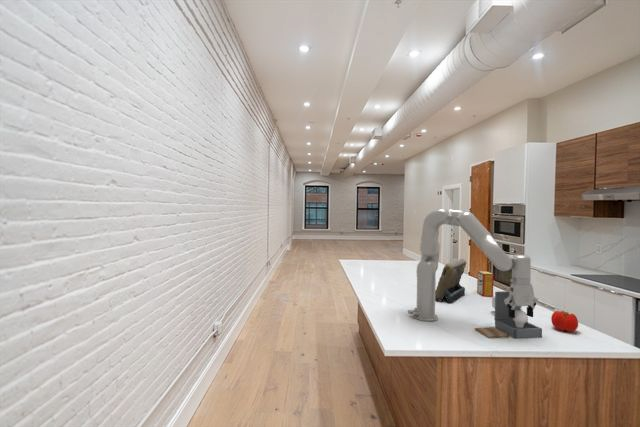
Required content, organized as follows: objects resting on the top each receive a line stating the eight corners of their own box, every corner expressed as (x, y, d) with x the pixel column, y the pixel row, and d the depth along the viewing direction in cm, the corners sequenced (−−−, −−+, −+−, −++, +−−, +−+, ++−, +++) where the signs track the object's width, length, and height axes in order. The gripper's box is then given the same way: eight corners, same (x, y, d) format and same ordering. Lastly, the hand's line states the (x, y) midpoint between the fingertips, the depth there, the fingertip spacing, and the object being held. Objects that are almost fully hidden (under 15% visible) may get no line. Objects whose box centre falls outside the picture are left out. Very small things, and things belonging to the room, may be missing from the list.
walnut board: (488, 338, 143) (488, 336, 143) (474, 329, 153) (474, 327, 153) (508, 337, 145) (508, 335, 145) (493, 329, 154) (493, 327, 154)
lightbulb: (527, 336, 145) (528, 313, 145) (511, 333, 149) (512, 310, 149) (526, 332, 151) (527, 309, 151) (511, 329, 154) (512, 307, 154)
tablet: (445, 290, 227) (446, 256, 227) (466, 294, 219) (467, 258, 219) (432, 301, 201) (433, 262, 200) (455, 305, 193) (456, 264, 192)
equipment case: (514, 338, 143) (515, 299, 143) (494, 327, 157) (495, 291, 157) (542, 337, 145) (543, 298, 145) (519, 326, 159) (520, 290, 159)
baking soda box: (477, 293, 222) (477, 270, 222) (486, 293, 222) (487, 270, 222) (483, 296, 213) (483, 273, 213) (492, 297, 212) (493, 273, 212)
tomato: (545, 325, 160) (546, 309, 160) (567, 326, 160) (568, 309, 160) (561, 334, 150) (561, 316, 149) (584, 334, 149) (585, 316, 149)
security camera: (507, 317, 172) (508, 299, 172) (494, 316, 174) (494, 298, 173) (503, 313, 178) (504, 296, 178) (490, 312, 180) (490, 295, 180)
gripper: (510, 283, 144) (510, 320, 145) (543, 282, 147) (543, 318, 147) (499, 279, 152) (498, 315, 152) (530, 278, 154) (530, 313, 155)
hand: (520, 316), depth 150 cm, fingers open, 9 cm apart
